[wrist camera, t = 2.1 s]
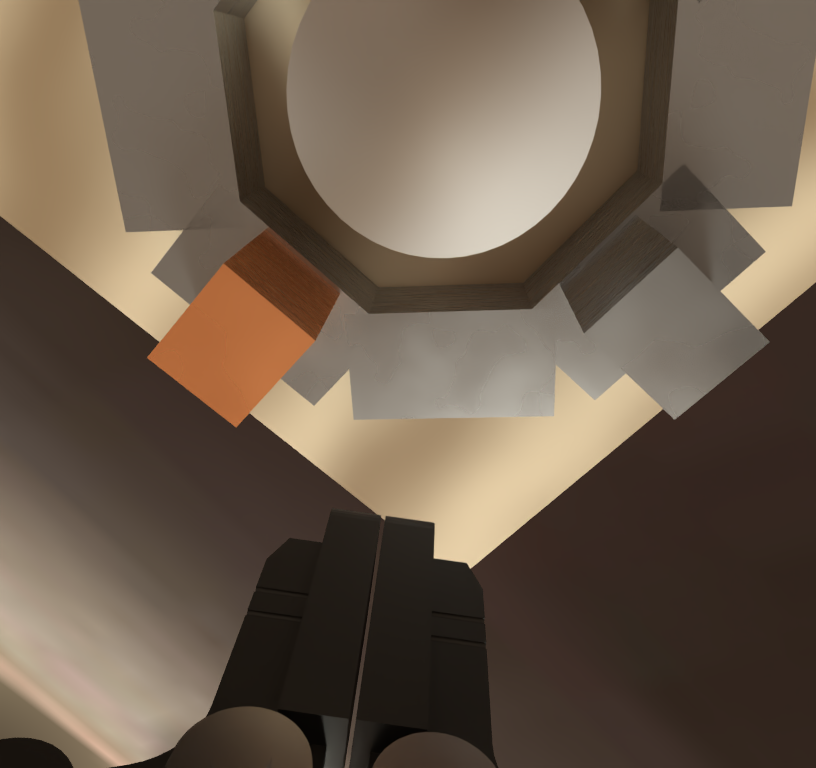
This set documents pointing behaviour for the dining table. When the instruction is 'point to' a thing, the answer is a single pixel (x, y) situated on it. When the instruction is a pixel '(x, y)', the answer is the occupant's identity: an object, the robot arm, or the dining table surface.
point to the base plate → (374, 450)
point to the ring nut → (455, 304)
